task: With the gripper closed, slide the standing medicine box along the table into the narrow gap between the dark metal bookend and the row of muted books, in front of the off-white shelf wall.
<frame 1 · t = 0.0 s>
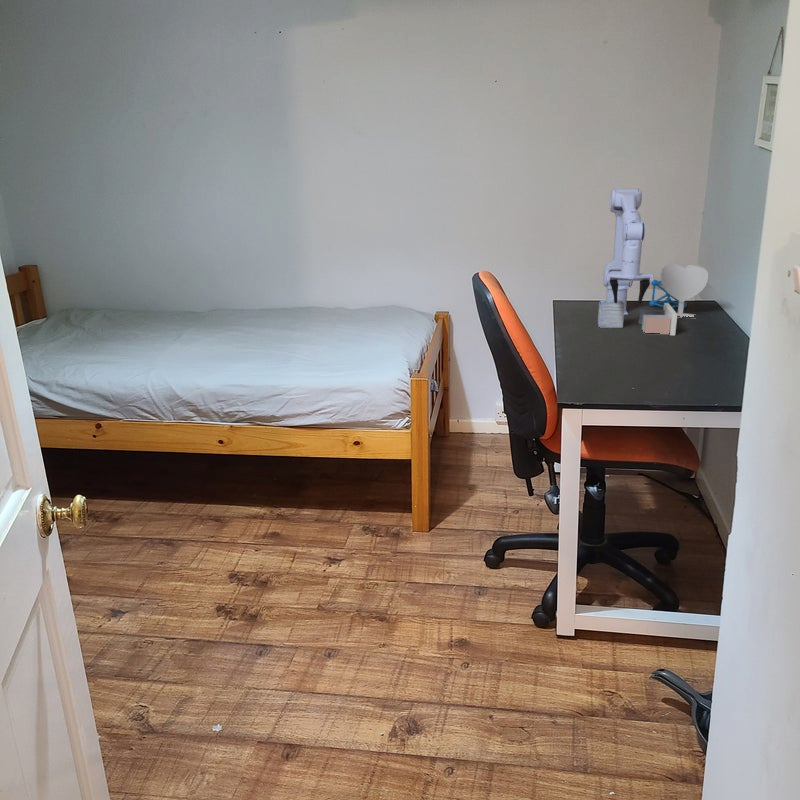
hand: (627, 302, 262), 10 cm above the table, tool pointing down, fingers open, 7 cm apart
book slot: (652, 327, 271), on the table
molecular structure: (667, 307, 298), on the table
heart sculpture: (679, 316, 286), on the table
medicine box: (609, 327, 273), on the table
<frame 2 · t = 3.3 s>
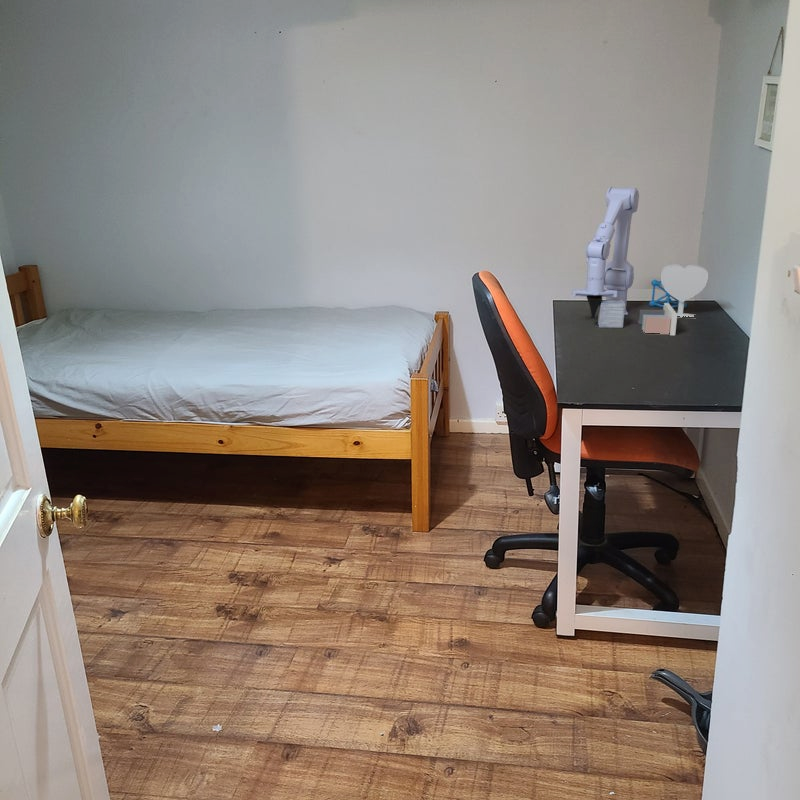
hand: (592, 317, 273), 3 cm above the table, tool pointing down, fingers closed
medicine box: (610, 327, 273), on the table, touching gripper
everything else where it was.
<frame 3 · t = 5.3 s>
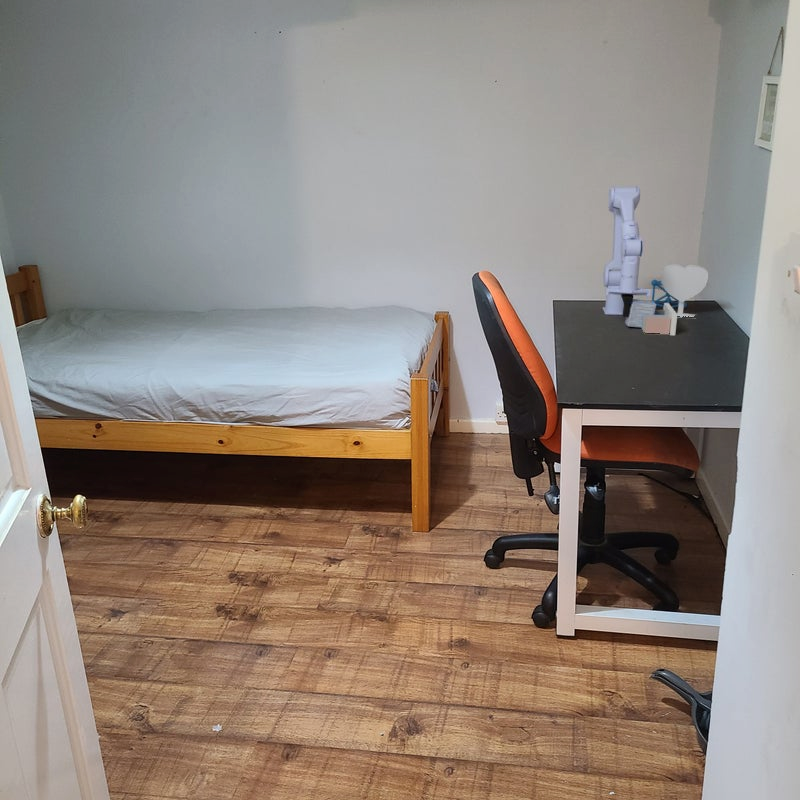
hand: (625, 316, 270), 4 cm above the table, tool pointing down, fingers closed, pressing on medicine box
medicine box: (637, 326, 271), on the table, touching gripper
everything else where it was.
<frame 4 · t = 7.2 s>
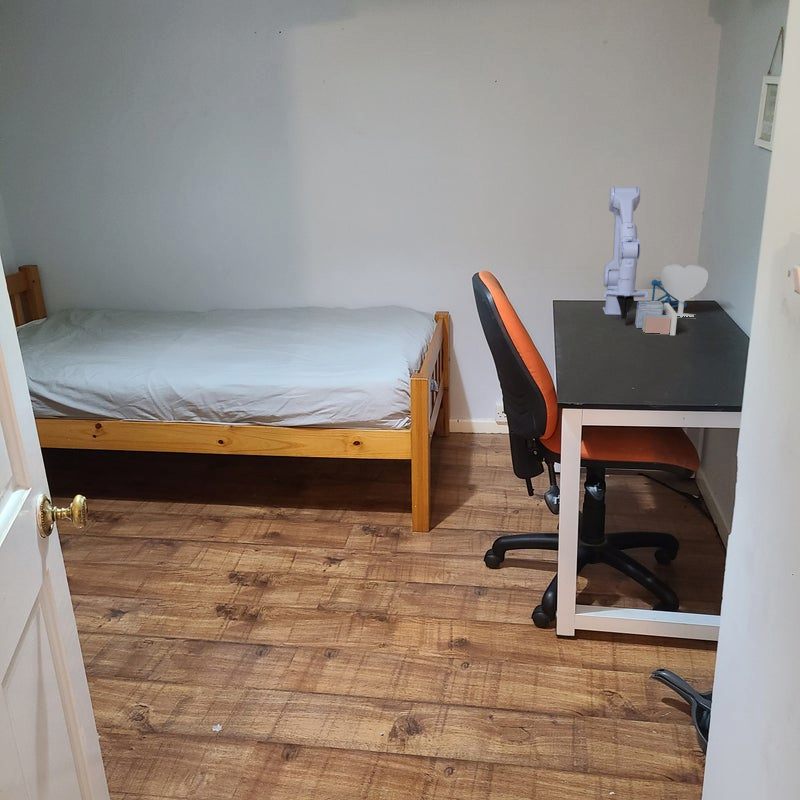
hand: (623, 318, 272), 3 cm above the table, tool pointing down, fingers closed
medicine box: (647, 327, 272), on the table
everything else where it was.
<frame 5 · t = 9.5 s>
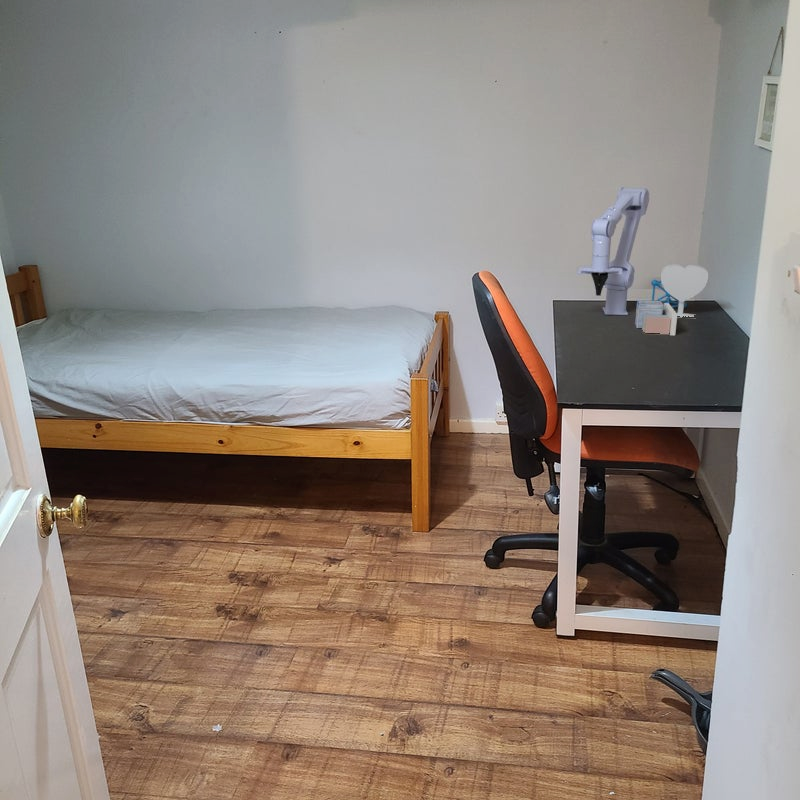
hand: (598, 295, 276), 9 cm above the table, tool pointing down, fingers closed
nothing on the table moved.
at the end: medicine box 0.9 cm from the target spot, on the table; medicine box tilted 0°; the gripper is holding nothing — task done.
